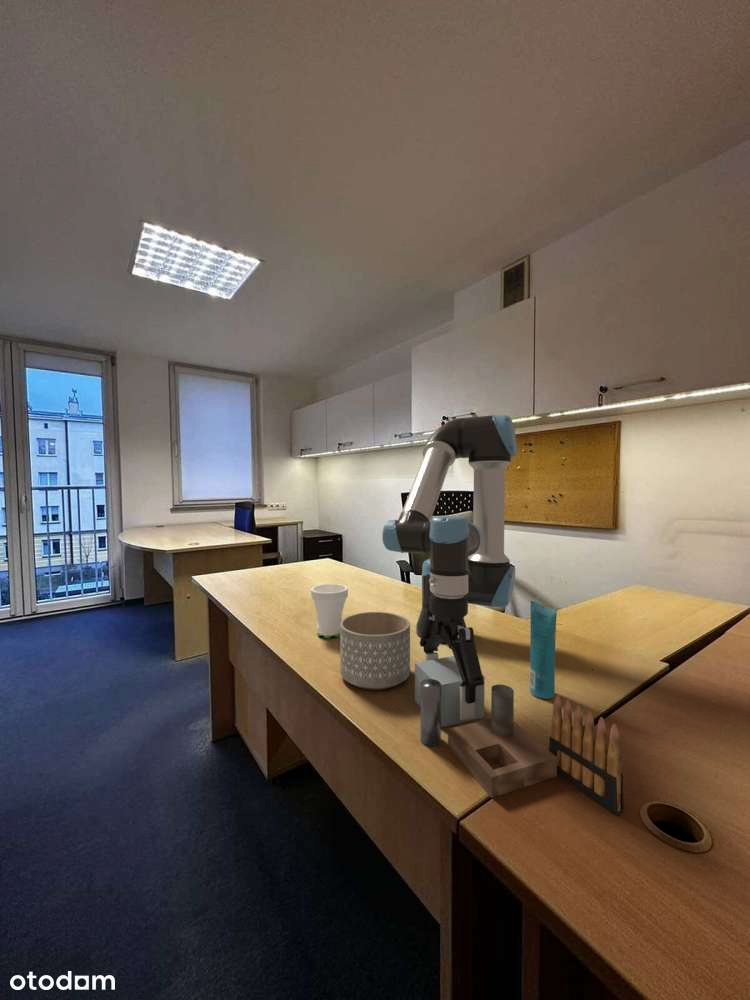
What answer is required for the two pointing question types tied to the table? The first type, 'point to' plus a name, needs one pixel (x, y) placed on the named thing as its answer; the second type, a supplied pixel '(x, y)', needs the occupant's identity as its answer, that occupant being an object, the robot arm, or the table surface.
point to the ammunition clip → (587, 756)
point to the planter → (375, 649)
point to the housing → (447, 688)
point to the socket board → (501, 749)
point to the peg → (430, 712)
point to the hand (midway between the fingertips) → (447, 699)
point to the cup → (329, 607)
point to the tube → (542, 651)
